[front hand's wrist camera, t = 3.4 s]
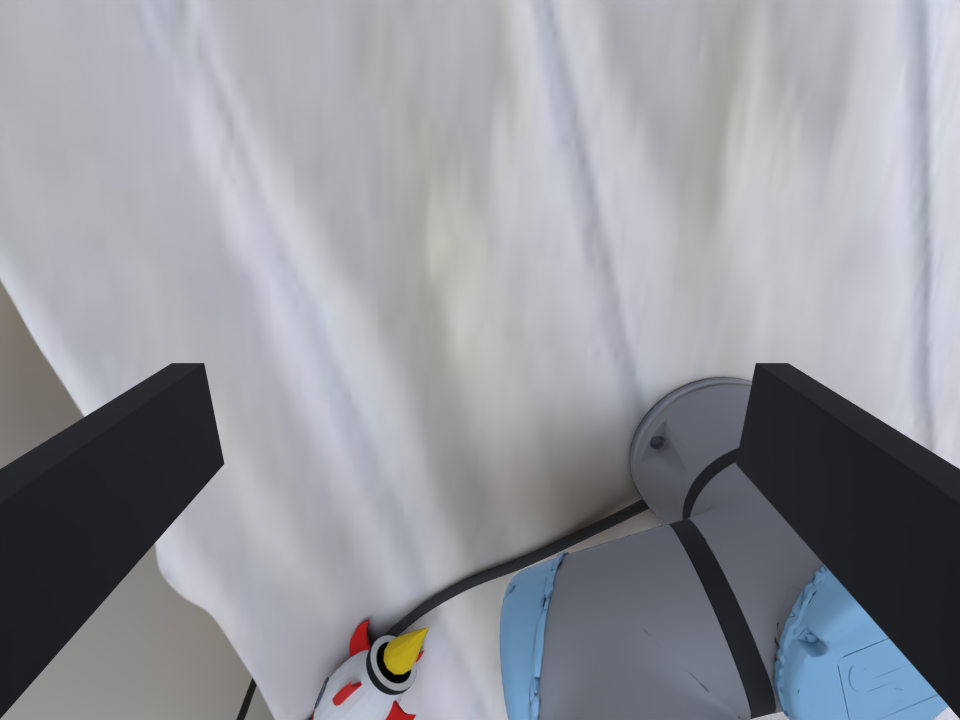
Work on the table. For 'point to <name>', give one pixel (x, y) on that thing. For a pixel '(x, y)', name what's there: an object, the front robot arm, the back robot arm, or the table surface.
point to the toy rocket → (371, 678)
